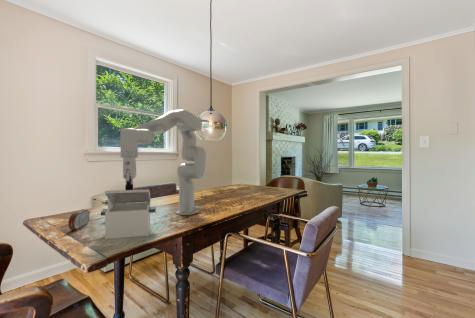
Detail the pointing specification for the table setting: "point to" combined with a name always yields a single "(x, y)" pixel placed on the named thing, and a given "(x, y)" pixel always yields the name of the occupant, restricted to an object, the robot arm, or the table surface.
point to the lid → (128, 196)
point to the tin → (78, 219)
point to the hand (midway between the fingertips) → (129, 192)
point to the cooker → (127, 220)
